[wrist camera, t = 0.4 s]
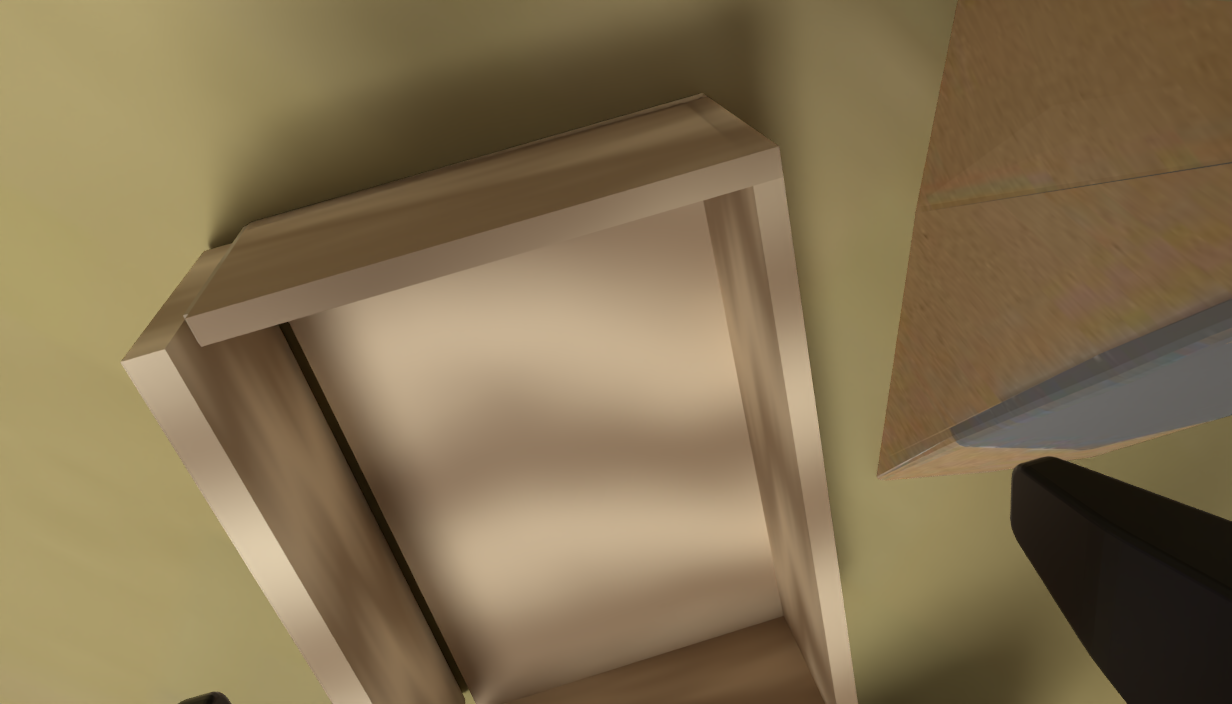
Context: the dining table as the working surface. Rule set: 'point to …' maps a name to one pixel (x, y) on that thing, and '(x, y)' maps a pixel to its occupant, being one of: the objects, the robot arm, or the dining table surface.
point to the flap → (289, 503)
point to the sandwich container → (1068, 237)
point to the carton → (579, 407)
